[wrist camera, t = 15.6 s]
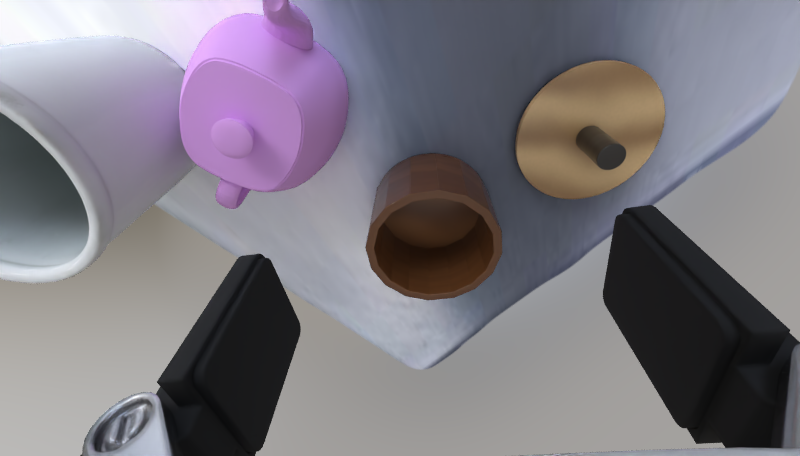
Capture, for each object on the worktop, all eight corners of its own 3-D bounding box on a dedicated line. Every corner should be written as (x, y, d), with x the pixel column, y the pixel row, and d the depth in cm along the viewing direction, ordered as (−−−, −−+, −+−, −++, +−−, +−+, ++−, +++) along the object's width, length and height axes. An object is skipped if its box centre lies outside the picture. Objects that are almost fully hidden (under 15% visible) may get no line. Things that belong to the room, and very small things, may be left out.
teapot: (316, 198, 41) (285, 263, 32) (196, 146, 38) (121, 200, 29) (394, 15, 31) (384, 27, 21) (239, -74, 28) (146, -107, 19)
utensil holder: (172, 9, 32) (-37, 26, 17) (243, 166, 40) (143, 271, 25) (27, 44, 34) (-273, 87, 19) (123, 187, 42) (-36, 296, 27)
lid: (513, 73, 34) (531, 89, 28) (672, 45, 32) (723, 56, 27) (513, 201, 41) (528, 232, 36) (644, 184, 39) (679, 214, 34)
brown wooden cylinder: (363, 162, 39) (352, 201, 32) (484, 144, 37) (500, 181, 30) (386, 256, 46) (381, 305, 38) (489, 243, 44) (503, 293, 37)
